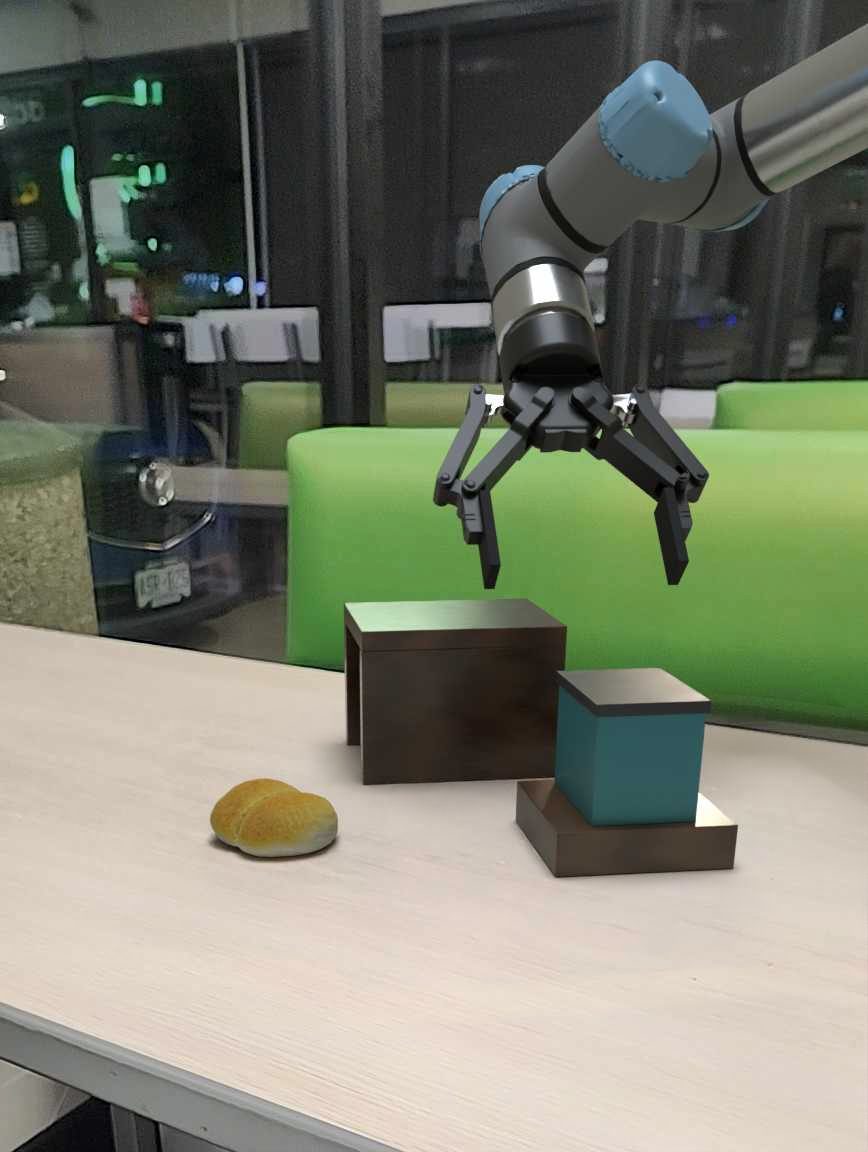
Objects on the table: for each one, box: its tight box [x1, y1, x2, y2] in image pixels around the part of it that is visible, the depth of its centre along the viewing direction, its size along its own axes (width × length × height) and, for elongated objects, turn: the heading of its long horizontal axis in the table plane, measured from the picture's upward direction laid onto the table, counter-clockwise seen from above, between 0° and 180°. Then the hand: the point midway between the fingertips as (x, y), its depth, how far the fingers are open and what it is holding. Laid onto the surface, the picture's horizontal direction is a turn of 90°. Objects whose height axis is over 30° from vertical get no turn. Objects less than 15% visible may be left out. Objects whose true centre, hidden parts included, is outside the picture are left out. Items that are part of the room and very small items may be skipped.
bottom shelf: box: [515, 779, 739, 878], centre depth 91 cm, size 12×12×3 cm
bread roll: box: [209, 778, 339, 858], centre depth 92 cm, size 8×9×4 cm
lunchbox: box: [554, 667, 713, 826], centre depth 89 cm, size 7×10×8 cm
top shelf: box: [343, 598, 568, 785], centre depth 110 cm, size 16×14×12 cm
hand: (586, 575), depth 95 cm, fingers open, 13 cm apart
